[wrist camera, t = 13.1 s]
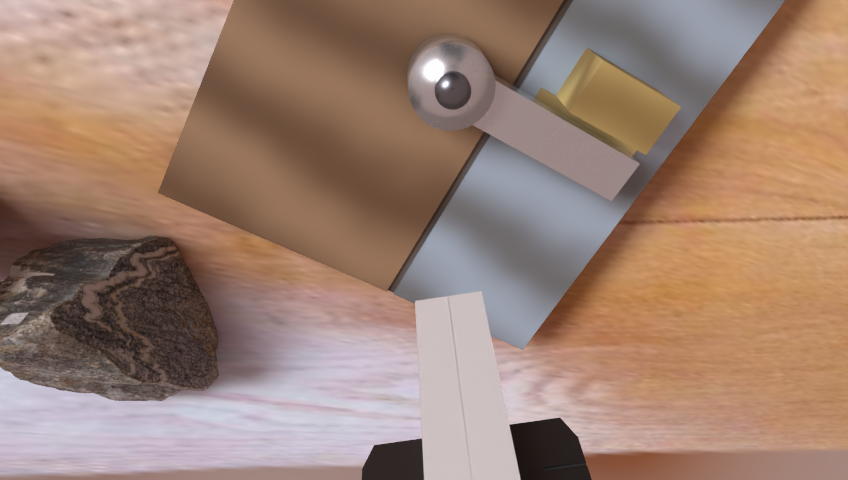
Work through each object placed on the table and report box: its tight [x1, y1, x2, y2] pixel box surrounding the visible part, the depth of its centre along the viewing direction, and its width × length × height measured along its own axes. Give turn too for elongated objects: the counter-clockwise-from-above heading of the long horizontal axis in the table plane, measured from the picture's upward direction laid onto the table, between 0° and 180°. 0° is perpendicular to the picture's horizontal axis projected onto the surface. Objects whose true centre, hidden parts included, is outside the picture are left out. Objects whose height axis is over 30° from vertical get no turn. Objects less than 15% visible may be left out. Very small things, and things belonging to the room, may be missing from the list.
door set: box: [158, 0, 785, 349], centre depth 36 cm, size 28×26×6 cm
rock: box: [0, 236, 219, 401], centre depth 40 cm, size 12×8×15 cm, turn 10°
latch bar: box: [407, 33, 640, 201], centre depth 35 cm, size 14×4×3 cm, turn 60°
